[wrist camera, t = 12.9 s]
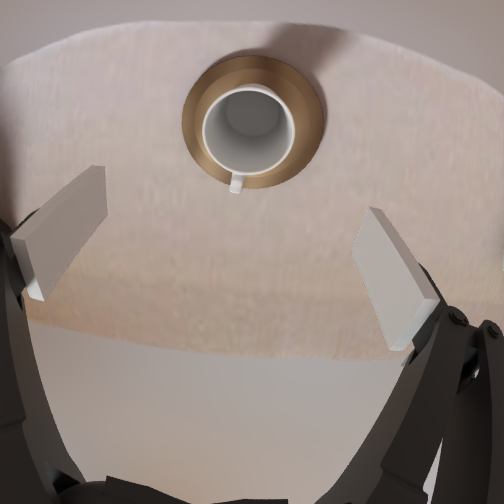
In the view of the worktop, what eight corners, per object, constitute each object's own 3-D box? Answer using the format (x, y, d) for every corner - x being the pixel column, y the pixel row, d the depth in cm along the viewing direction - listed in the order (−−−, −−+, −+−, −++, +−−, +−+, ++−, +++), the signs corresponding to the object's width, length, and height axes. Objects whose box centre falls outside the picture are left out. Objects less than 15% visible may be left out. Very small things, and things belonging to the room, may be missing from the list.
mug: (229, 75, 28) (212, 78, 18) (290, 89, 29) (306, 99, 19) (211, 158, 34) (189, 202, 24) (268, 170, 34) (270, 219, 24)
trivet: (178, 175, 36) (176, 178, 35) (193, 49, 27) (190, 48, 26) (304, 195, 37) (305, 199, 36) (335, 73, 28) (337, 73, 27)
